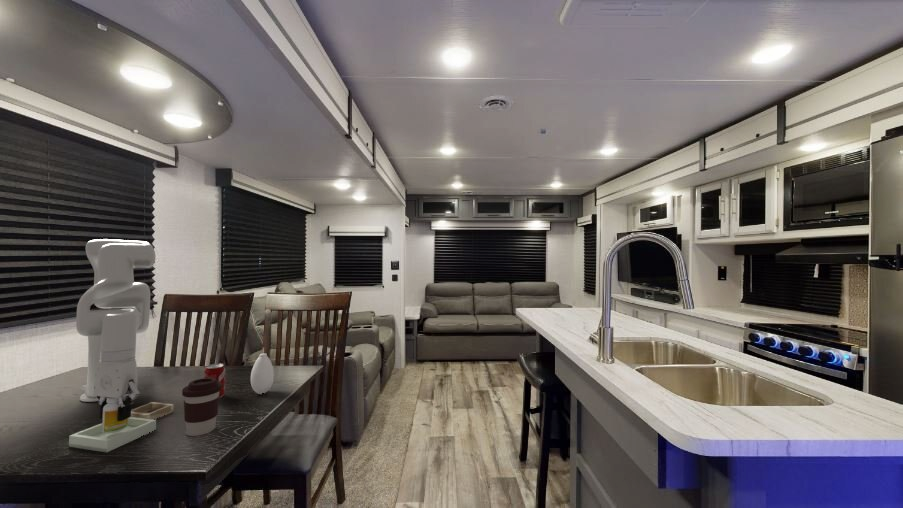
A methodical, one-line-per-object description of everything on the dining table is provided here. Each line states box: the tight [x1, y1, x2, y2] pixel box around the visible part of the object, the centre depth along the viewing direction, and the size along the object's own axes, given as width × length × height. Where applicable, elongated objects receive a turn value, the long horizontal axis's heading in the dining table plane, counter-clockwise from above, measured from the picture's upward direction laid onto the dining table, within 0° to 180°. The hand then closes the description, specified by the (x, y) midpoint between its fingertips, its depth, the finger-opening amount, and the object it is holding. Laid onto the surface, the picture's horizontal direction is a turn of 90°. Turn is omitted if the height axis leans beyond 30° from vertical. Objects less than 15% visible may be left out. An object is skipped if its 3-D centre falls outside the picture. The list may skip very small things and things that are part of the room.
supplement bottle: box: [101, 396, 128, 434], centre depth 103 cm, size 5×5×10 cm
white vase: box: [250, 347, 275, 395], centre depth 139 cm, size 8×8×18 cm
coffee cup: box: [181, 377, 222, 437], centre depth 108 cm, size 10×10×15 cm
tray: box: [68, 417, 157, 453], centre depth 102 cm, size 13×13×3 cm
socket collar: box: [131, 401, 175, 420], centre depth 117 cm, size 9×9×2 cm
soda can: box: [203, 363, 226, 399], centre depth 133 cm, size 7×7×12 cm
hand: (115, 417), depth 103 cm, fingers closed on supplement bottle, 5 cm apart
